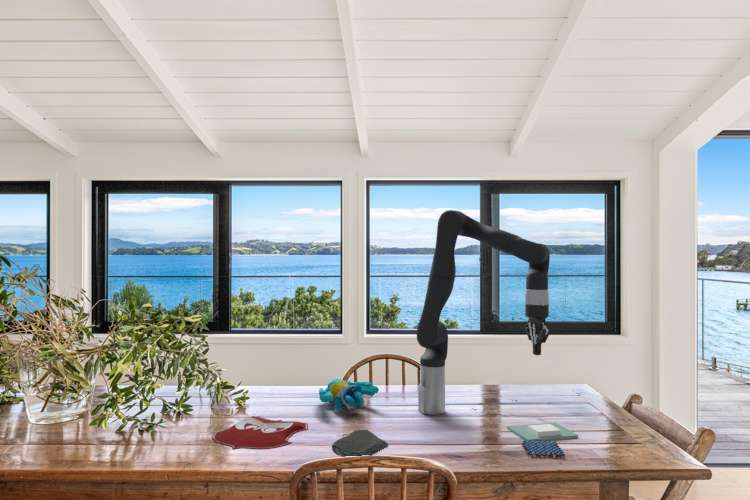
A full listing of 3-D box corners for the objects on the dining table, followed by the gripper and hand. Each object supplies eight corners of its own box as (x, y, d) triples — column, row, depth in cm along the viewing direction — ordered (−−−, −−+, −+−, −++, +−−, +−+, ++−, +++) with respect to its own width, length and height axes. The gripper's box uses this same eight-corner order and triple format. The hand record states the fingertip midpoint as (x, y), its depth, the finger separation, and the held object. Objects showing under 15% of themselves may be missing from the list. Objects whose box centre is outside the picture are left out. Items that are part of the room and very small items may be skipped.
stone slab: (387, 462, 143) (387, 455, 143) (327, 461, 144) (327, 454, 144) (389, 433, 167) (389, 427, 167) (338, 432, 168) (338, 426, 168)
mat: (527, 442, 158) (527, 439, 158) (507, 428, 171) (507, 426, 171) (578, 437, 162) (578, 435, 162) (554, 424, 175) (554, 422, 175)
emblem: (191, 436, 156) (247, 408, 184) (191, 446, 155) (246, 417, 184) (274, 448, 146) (319, 417, 174) (274, 458, 146) (319, 426, 174)
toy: (383, 417, 185) (355, 410, 207) (386, 384, 188) (358, 380, 210) (327, 414, 176) (303, 406, 198) (331, 378, 179) (307, 375, 201)
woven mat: (520, 446, 156) (520, 439, 156) (555, 447, 156) (555, 440, 156) (528, 459, 146) (528, 452, 146) (566, 460, 145) (566, 453, 145)
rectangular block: (549, 428, 168) (528, 430, 166) (549, 423, 168) (528, 425, 166) (560, 435, 162) (538, 436, 161) (560, 430, 162) (537, 431, 161)
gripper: (516, 301, 176) (516, 351, 175) (537, 304, 163) (537, 359, 162) (536, 300, 177) (536, 350, 177) (558, 304, 164) (558, 358, 164)
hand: (536, 354), depth 170 cm, fingers closed
